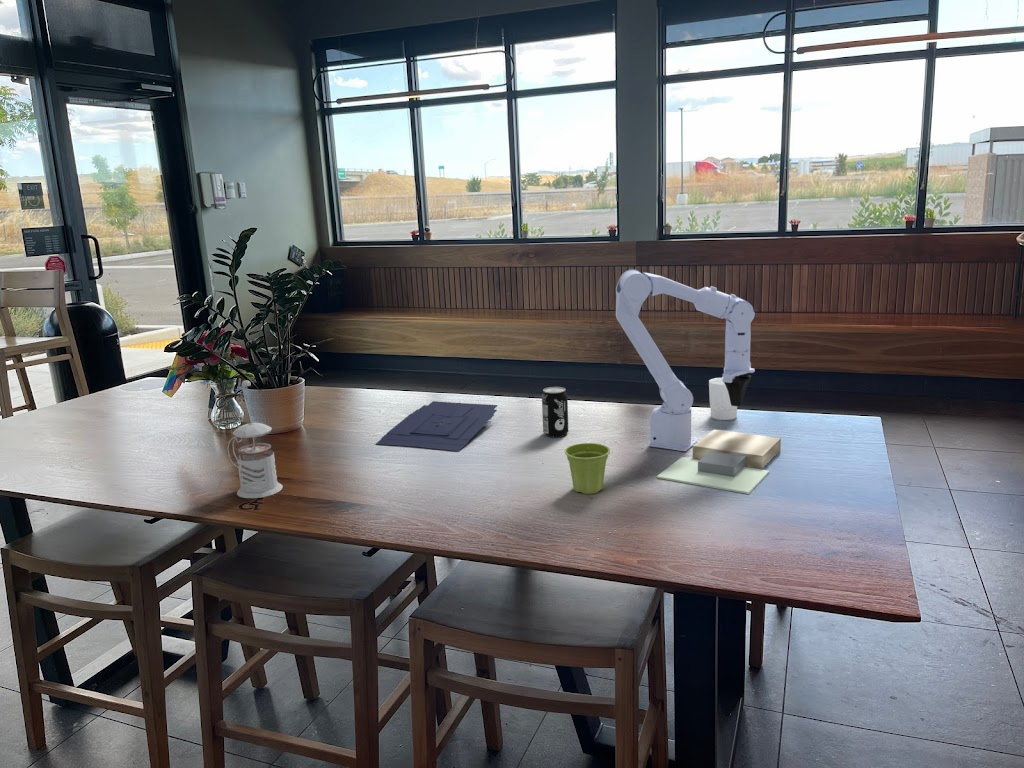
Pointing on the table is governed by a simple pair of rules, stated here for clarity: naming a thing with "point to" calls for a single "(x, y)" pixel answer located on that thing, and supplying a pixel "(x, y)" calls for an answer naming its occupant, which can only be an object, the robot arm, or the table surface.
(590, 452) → the plant pot
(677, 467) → the mat
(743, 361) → the robot arm
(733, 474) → the tile
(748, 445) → the board
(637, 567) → the table surface
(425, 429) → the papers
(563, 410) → the beverage can
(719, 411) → the white cup
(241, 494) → the french press
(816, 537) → the table surface
